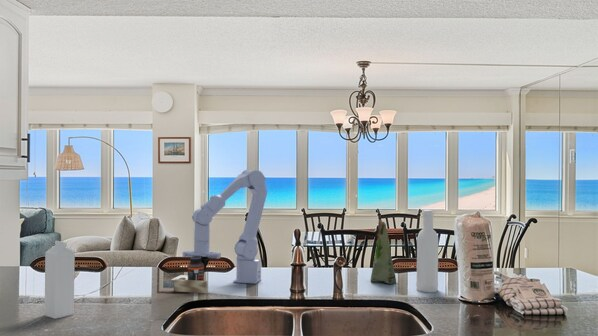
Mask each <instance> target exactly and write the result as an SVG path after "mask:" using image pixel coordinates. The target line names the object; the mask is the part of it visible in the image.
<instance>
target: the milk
mask: <svg viewBox="0 0 598 336" xmlns="http://www.w3.org/2000/svg"><path fill="white" fill-rule="evenodd" d="M66 246H67V245H66V241H60V240H55V241H54V245H53V246H52V247H50V248H49V249H47V250H46V251H45V252H44V255H45V258H44V262H45V263H44V272H45V273H44V304H43V305H44V309H43V310H44V312H43V313H44V316H46V317H48V318H52V319H55V320H56V319H60V318H64V317H69V316H73V315H74V313H75V310H74V308H75V306H74V305H75V256H76V255H75V253H76V252H75V251H74V250H71V249H69V248H68V247H66Z"/></svg>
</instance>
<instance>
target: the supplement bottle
mask: <svg viewBox="0 0 598 336" xmlns="http://www.w3.org/2000/svg"><path fill="white" fill-rule="evenodd" d="M189 260H190V261H189V263H188V264H187V275H188V280H198V281H205V273H204V264H203V263H202V262H201V257H189Z"/></svg>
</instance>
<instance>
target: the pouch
mask: <svg viewBox="0 0 598 336" xmlns="http://www.w3.org/2000/svg"><path fill="white" fill-rule="evenodd" d="M376 236H377V240H376V241H375V246H376V247H375V253H374V258H373V263H372V268H371V270H372V271H371V276H370V282H378V283H384V284H389V285H391V284H396V282H397V278H396V272H395V269H394V268H395V267H394V263H393V259H392V254H391V246H390V240H389V239H390V238H389V234H388V228H387V223H385V222H384V221H382V219H379V220H378V226H377V233H376Z"/></svg>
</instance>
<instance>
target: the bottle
mask: <svg viewBox="0 0 598 336" xmlns="http://www.w3.org/2000/svg"><path fill="white" fill-rule="evenodd" d="M422 212H423V213H422V219H423V220H422V229H421V230H420V231H419V232H418V235H417V238H416V239H417V241H416V243H417V244H416V283H415V285H416V290H417V291H419V292H421V293H437V292H438V291H439V290H438V288H439V276H438V275H439V236H438V234H437V231H436V230H435V229H434V210H431V209H424V210H423V211H422Z"/></svg>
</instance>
